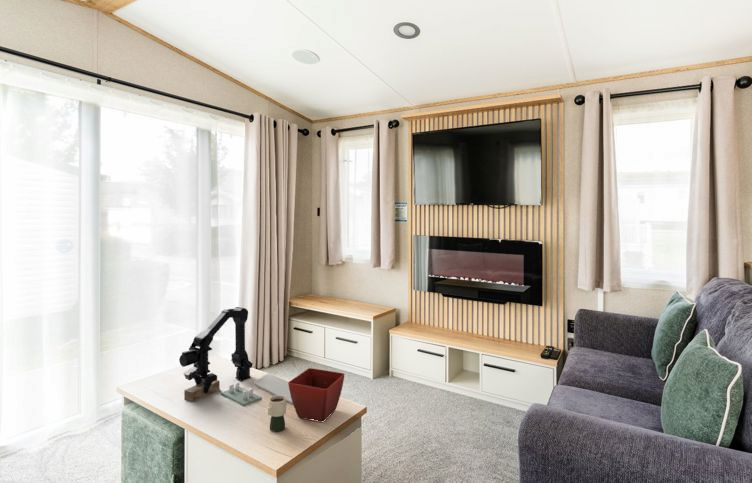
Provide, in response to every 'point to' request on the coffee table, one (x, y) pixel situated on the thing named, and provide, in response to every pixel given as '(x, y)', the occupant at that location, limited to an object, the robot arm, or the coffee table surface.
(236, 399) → the peg base
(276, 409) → the character mug
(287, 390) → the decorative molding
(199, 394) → the walnut shelf board
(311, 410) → the plant pot
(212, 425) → the coffee table surface
